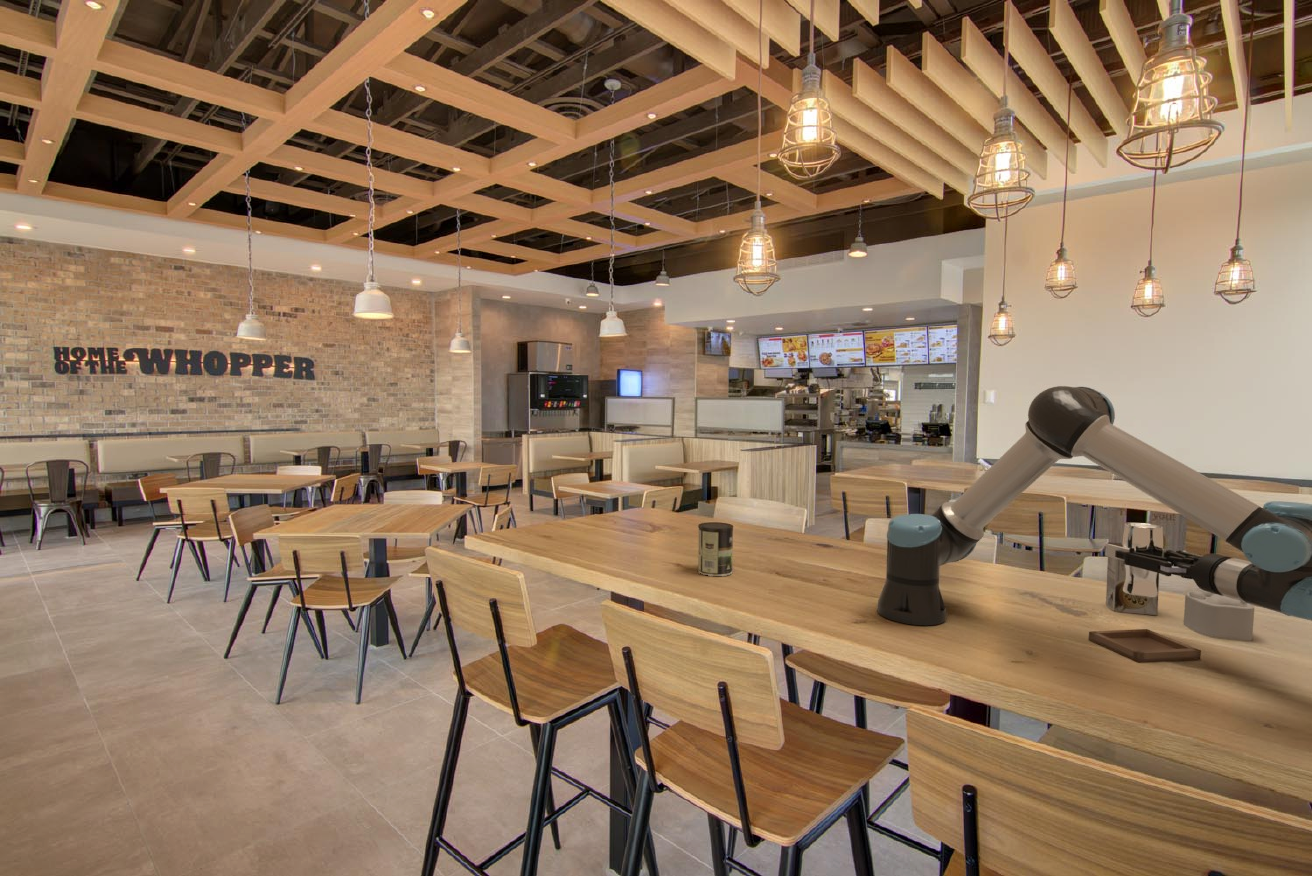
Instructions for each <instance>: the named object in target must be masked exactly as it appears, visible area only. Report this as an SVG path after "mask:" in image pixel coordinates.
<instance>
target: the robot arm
mask: <svg viewBox="0 0 1312 876" xmlns="http://www.w3.org/2000/svg"><path fill="white" fill-rule="evenodd" d="M1115 413H1116V412H1115V408H1114V406H1113V404H1112V402H1111V401H1110V399H1109V398H1108V396H1107V395H1105V394H1103V393H1102V392H1101V391H1098V390H1095V388H1091V387H1087V386H1067V385H1058V386H1057V385H1056V386H1053V387H1049V388H1047V389H1045V390H1043V391H1041V392H1039V394H1037V395H1036V396H1035V397H1034V398H1033V399H1032V400H1031V402H1030V405H1029V408H1028V413H1027V416H1028V417H1027V419H1028V420H1027V421H1026V422H1025V425H1024V426H1025V434H1023V435H1022V436H1021V437H1020V438H1019V439H1018V440H1017V441H1015V443H1014V444H1013V445H1012V446H1011V447H1010V448H1009V449H1007V451H1005V453H1004V454H1003V455H1002V456H1001V457H999V458H998V459H997V460H996V461H995V462H994V463H993V464H992V465H991V466H990V467H989V468H988V469H987V470H986V471H985V472H984V473H983V474H982V475H981V476H980V477H979V478H978V479H977V480H976V481H974V483H973V484H971V486H970V487H968V488H967V489H966V490H965V491H964V492H963V493H962V494H961V495H960V496H959V497H958V498H957V499H956V500H955V501H954V502H953V501H946V502H943V503H942V504H941V505H940V506H939V507H938V508H937V509H936V510H935V511H934V512H933V513H931V515H930V514H924V513H923V514H922V513H910V514H901V515H897V516H894V517H893V518H891V519H890V521H889V522H888V527H887V532H886V538H887V539H886V540H887V541H886V542H887V543H886V575H885V576H886V577H885V578H886V579H885V582H884V586H883V588H882V591H881V593H880V595H879V598H878V600H877V613H878V614H879V615H880V616H882V617H883V618H885V619H887V620H891V621H893V622H896V623H902V624H906V625H913V626H914V625H915V626H935V625H936V626H937V625H941V624H943V623H945V622H946V620H947V609H946V605H945V602H944V599H943V596H942V592H941V588H940V568H941V567H940V566H943V565H946V564H949V563H956V562H959V561H962V560H964V559H965V558H967V557H968V556H969V555H970V554H972V553H973V551H974V550H975V548H976V546H977V543H978V542H980V541H981V540H982V538H984V535H985V534H984V533H985V532H984V531H985V530H984V528H985V527H986V526H987V525H988V524H989V523H991V521H992V520H994V518H995V517H997V516H998V515H999V514H1000V513H1001V512H1002V511H1004V509H1006V508H1007V507H1008V506H1010V504H1012V502H1014V501H1015V500H1016V499H1017V498H1018V497H1019V496H1020V495H1021V494H1023V493H1024V491H1026V490H1027V489H1028V488H1030V486H1031V485H1032V484H1033V483H1035V482H1036V481H1038V479H1039V478H1040V477H1041V476H1043V475H1044V474H1045V473H1046V472H1047V471H1048V470H1049V469H1050V468H1051V467H1053V465H1055V463H1057V462H1058V461H1059V460H1071V459H1072V458H1077V457H1084V458H1086V459H1087V460H1089V461H1090V462H1092V463H1094V464H1096V465H1097V466H1099V467H1101V468H1103V469H1104V470H1105V471H1108V472H1109V473H1111V474H1112V475H1114V476H1116V477H1118V478H1119V479H1121V480H1122V481H1124V482H1126V483H1127V484H1129V485H1131V486H1133V487H1134V488H1136V489H1137V490H1139V491H1141V492H1142V493H1145V494H1146V495H1148V496H1149V497H1151V498H1153V499H1154V500H1156V501H1158V502H1159V503H1161V504H1163V505H1165V506H1166V507H1168V508H1170V509H1171V510H1172V511H1174V512H1175V513H1178V514H1180V515H1181V516H1183V517H1185V518H1186V519H1188V520H1189V521H1191V522H1192V523H1194V524H1196V525H1198V526H1199V527H1201V528H1203V529H1205V530H1206V531H1208V532H1209V533H1211V534H1213V535H1215V536H1216V537H1218V538H1220V539H1221V540H1223V541H1225V542H1226V543H1228V544H1230V545H1231V546H1232V547H1234V548H1236V549H1237V550H1239V551H1241V552H1242V553H1243V554H1244V556H1245V558H1246V559H1247V560H1244V559H1242V558H1241V559H1240V558H1236V557H1232V556H1231V557H1230V556H1226V555H1222V554H1218V553H1205V554H1204V555H1202V556H1201V555H1198V554H1194V553H1191V552H1186V551H1182V550H1181V549H1180V550H1176V551H1173V550H1171V549H1168V550H1165V549H1164V548H1163V553H1162V557H1159V556H1154V555H1149V554H1143V553H1138V552H1135V550H1134V548H1129V549H1127V548H1123V547H1119V546H1115V545H1111V544H1108V543H1106V544H1105V556H1106V557H1107V558H1108V557H1111V558H1115V559H1119V560H1122V561H1124V564H1125V565H1129V566H1133V567H1137V568H1141V569H1145V570H1149V571H1153V572H1157V573H1159V575H1163V576H1165V577H1172V575H1173V576H1174V575H1175V576H1177V577H1181V578H1183V579H1187V580H1193V581H1194V583H1195V584H1196V586H1197V587H1198V589H1199V588H1200V589H1202V590H1204V591H1207V592H1211V593H1214V594H1217V595H1221V596H1226V597H1229V598H1232V599H1237V600H1240V602H1241V604H1243V605H1246V604H1247V603H1249V604H1251V605H1253V606H1254V605H1255V606H1257V607H1260V608H1263V609H1266V610H1271V611H1274V612H1277V613H1280V614H1283V615H1285V616H1288V617H1295V618H1300V619H1303V620H1306V621H1312V504H1310V503H1304V502H1297V501H1283V500H1282V501H1280V500H1279V501H1276V500H1274V501H1273V500H1272V501H1266V502H1265V503H1264V504H1263V505H1262V507H1261V506H1260V505H1258V504H1257V503H1254V502H1253V501H1251V500H1250V499H1247V498H1245V497H1244V496H1243V495H1241V494H1239V493H1237V492H1235V491H1233V490H1231V489H1229V488H1228V487H1225V485H1222V484H1220V483H1218V482H1217V481H1215V480H1213V479H1212V478H1209V477H1208V476H1206V475H1205V474H1202V473H1200V472H1198V471H1197V470H1195V469H1193V468H1191V467H1189V466H1188V465H1186V464H1184V463H1182V462H1181V461H1178V459H1176V458H1173V457H1172V456H1169V455H1168V454H1166V453H1164V452H1163V451H1160V450H1159V449H1157V448H1156V447H1154V446H1151V445H1149V444H1148V443H1146V442H1145V441H1143V440H1141V439H1139V438H1137V437H1135V436H1133V435H1132V434H1129V432H1126V431H1125V430H1123V429H1121V428H1119V427H1117V426H1115V425H1114V424H1115V423H1114V422H1115V418H1116V417H1115V416H1116V415H1115Z"/></svg>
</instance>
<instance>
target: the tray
mask: <svg viewBox="0 0 1312 876" xmlns="http://www.w3.org/2000/svg"><path fill="white" fill-rule="evenodd" d="M1088 641H1090V642H1093V643H1095V644H1098V645H1100V647H1101V646H1102V647H1103V648H1106V649H1108V650H1110V651H1113V652H1114V653H1118V654H1119V655H1121V656H1123V657H1126V658H1128V659H1130V660H1133V661H1134V662H1136V663H1151V662H1152V663H1153V662H1171V661H1172V662H1174V661H1192V660H1193V661H1194V660H1201V659H1202V657H1201V656H1202V650H1201V649H1198V648H1196V647H1193V646H1190V645H1188V644H1185V643H1184V642H1181V641H1178V640H1175V639H1174V638H1170V637H1168V636H1165V635H1163V634H1161V633H1158V632H1155V631H1153V630H1150V629H1148V628H1144V629H1141V628H1140V629H1139V628H1137V629H1117V630H1115V629H1113V630H1094V631H1093V630H1091V631H1088Z"/></svg>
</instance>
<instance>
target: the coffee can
mask: <svg viewBox="0 0 1312 876" xmlns="http://www.w3.org/2000/svg"><path fill="white" fill-rule="evenodd" d="M733 537H734V525H733V524H731V523H728V522H721V521H720V522H719V521H718V522H716V521H715V522H714V521H712V522H702V523H698V561H697V562H698V563H697V564H698V566H697V567H698V568H697V569H698V570H697V573H698V574H700V573H701V574H700V575H702V574H703V575H702V576H705V575H708V576H707V577H713V576H722V577H728V576H731V575H732V574H733V551H734V550H733V548H734V547H733V542H734V541H733V540H734V538H733ZM730 574H731V575H730ZM727 575H728V576H727Z"/></svg>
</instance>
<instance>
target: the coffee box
mask: <svg viewBox="0 0 1312 876" xmlns="http://www.w3.org/2000/svg"><path fill="white" fill-rule="evenodd" d="M1107 544H1111V545H1115V546H1119V547H1123V542H1109V541H1108V543H1107ZM1106 565H1107V566H1106V567H1107V568H1106V571H1107V572H1106V589H1105V590H1106V592H1105V593H1106V594H1105V605H1106V606H1107V607H1108V608H1109V609H1111V610H1112V611H1113V612H1115V613H1116V612H1117V613H1125V614H1141V615H1147V616H1149V615H1150V616H1151V615H1152V616H1158V613H1159V611H1158V610H1159V595H1158V596H1157V597H1141V596H1135V595H1131V594H1128V593H1125V592H1124V591H1123V587H1124V583H1125V579H1126V569H1125V564H1124V561H1122V560H1119V559H1115V558H1111V557H1108V556H1107V564H1106ZM1159 583H1160V573H1157V577H1156V587H1157V592H1158V593H1159V587H1160V584H1159Z"/></svg>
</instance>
